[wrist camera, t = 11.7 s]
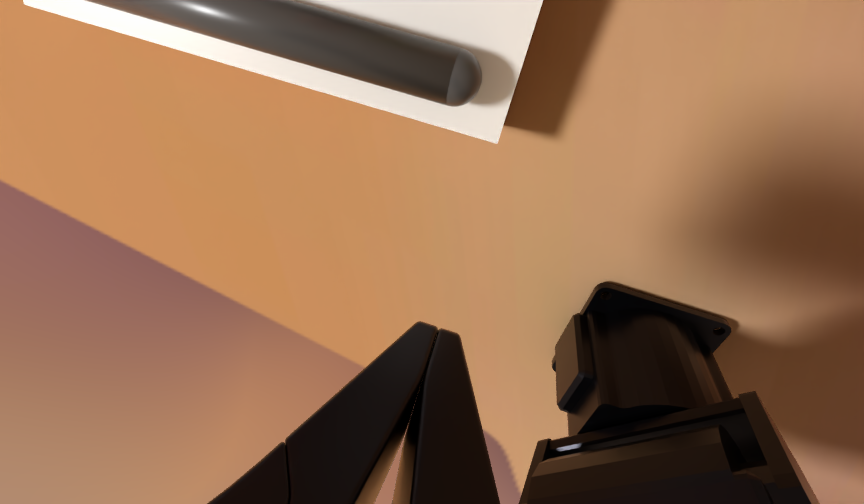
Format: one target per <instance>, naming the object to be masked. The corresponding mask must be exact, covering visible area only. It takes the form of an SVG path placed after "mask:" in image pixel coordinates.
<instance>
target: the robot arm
mask: <svg viewBox="0 0 864 504" xmlns="http://www.w3.org/2000/svg"><path fill="white" fill-rule="evenodd" d="M602 292H609V294H607V295H602V294H601V293H602ZM719 327H720V329H717V330H714V329H715V328H719ZM730 333H731V328H730V326H729V324H728V322H727V321H726V320H724V319H722V318H719V317H716V316H713V315H709V314H706V313H703V312H700V311H697V310H693V309H690V308H687V307H684V306H681V305H677V304H674V303H671V302H668V301H665V300H662V299H658V298H655V297H652V296H649V295H646V294H642V293H639V292H636V291H633V290H630V289H626V288H623V287H620V286H617V285H614V284H610V283H600V284H598V285H597V286H596V287H595V288H594V290H593V292H592V293H591V295H590V297H589V298H588V300H587V302H586V304H585V305H584V307H583V309H582V310H581V312H580V313H577V314H575V315H573V316H572V318H571V320H570V322H569V323H568V325H567V327H566V328H565V330H564V332H563V334H562V335H561V337H560V339H559V341H558V342H557V344H556V346H555V356H554V358H553V360H552V368H553V370H554V371H555V372H556V390H557V405H558V407H559V409H560V410H562V411H564V412H567V416H568V435H569V436H568V437H564V438H559V439H555V440H551V439H545V440H540V441H538V443H537V446H536V449H535V452H534V456H533V459H532V462H531V465H530V469H529V472H528V475H527V479H526V482H525V485H524V488H523V492H522V495H521V498H520V502H519V504H820V503H819V501H818V500H817V498H816V496H815V494H814V492H813V490H812V489H811V487H810V485H809V483H808V481H807V479H806V478H805V476H804V474H803V472H802V470H801V468H800V467H799V465H798V463H797V461H796V460H795V458H794V456H793V455H792V453H791V451H790V449H789V448H788V446H787V444H786V443H785V441H784V439H783V438H782V436H781V434H780V432H779V431H778V429H777V427H776V426H775V424H774V422H773V421H772V419H771V417H770V416H769V414H768V412H767V410H766V409H765V407H764V405H763V404H762V402H761V400H760V399H759V397H758V395H757V393H756V392H755V391H753V392H748V393H744V394H740V395H739V398H735V399H733V397H732V395H731V393H730V391H729V389H728V386H727V384H726V382H725V380H724V378H723V376H722V373H721V371H720V369H719V367H718V365H717V362H716V360H715V358H714V356H713V354H712V353H713V352H714V351H715V350H716V349H717V348H718V347H719V346H720V344H721V343H722V342H723V341H724V340H725V339H726V338H727V337H728V336H729V335H730ZM436 335H437V336H436ZM435 338H436V339H435ZM434 341H435V342H434ZM433 344H434V345H433ZM429 357H430V358H429ZM428 360H429V361H428ZM423 376H424V377H423ZM422 379H423V380H422ZM417 395H418V396H417ZM416 398H417V399H416ZM415 401H416V402H415ZM414 404H415V405H414ZM411 414H412V415H411ZM410 417H411V418H410ZM409 420H410V421H409ZM408 423H409V424H408ZM407 426H408V428H407ZM406 429H407V431H406ZM405 432H406V435H405ZM404 435H405V438H404ZM403 438H404V443H403V448H402V453H401V458H400V463H399V468H398V474H397V479H396V484H395V490H394V495H393V500H392V504H500V501H499V497H498V493H497V488H496V484H495V480H494V476H493V472H492V467H491V464H490V459H489V455H488V451H487V446H486V443H485V438H484V434H483V430H482V426H481V421H480V417H479V413H478V409H477V405H476V401H475V396H474V392H473V388H472V384H471V380H470V375H469V371H468V367H467V363H466V359H465V355H464V350H463V346H462V342H461V338H460V336H459V334H457V333H455V332H452V331H449V330H446V329H442V328H441V329H439V330H438V328H437V327H436V326H433V325H430V324H427V323H424V322H421V321H419V322H417V323H415V324H414V325H413V326H412V327H411V328H410V329H408V330H407V331H406V332H405V333H404V334H403V335H402V336H401V337H399V338H398V339H397V340H396V341H395V342H394V343H393V344H392V345H390V346H389V347H388V348H387V349H386V350H385V351H384V352H383V353H381V354H380V355H379V356H378V357H377V358H376V359H375V360H374V361H372V362H371V363H370V364H369V365H368V366H367V367H366V368H365V369H363V370H362V371H361V372H360V373H359V374H358V375H357V376H356V377H355V378H353V379H352V380H351V381H350V382H349V383H348V384H347V385H345V386H344V387H343V388H342V389H341V390H340V391H339V392H338V393H337V394H335V395H334V396H333V397H332V398H331V399H330V400H329V401H328V402H326V403H325V404H324V405H323V406H322V407H321V408H319V409H318V410H317V411H316V412H315V413H314V414H313V415H312V416H310V417H309V418H308V419H307V420H306V421H305V422H304V423H303V424H301V425H300V426H299V427H298V428H297V429H296V430H295V431H294V432H292V433H291V434H290V435H289V436H288V437H287V438H286V440H285V443H284V442H281V443H280V444H279V445H278V446H276V447H275V448H274V449H273V450H272V451H271V452H270V453H269V454H267V455H266V456H265V457H264V458H263V459H262V460H261V461H259V462H258V463H257V464H256V465H255V466H253V467H252V468H251V469H250V470H249V471H247V472H246V473H245V474H244V475H243V476H242V477H240V478H239V479H238V480H237V481H236V482H234V483H233V484H232V485H231V486H230V487H228V488H227V489H226V490H224V491H223V492H222V493H220V494H219V495H218V496H216V497H215V498H214V499H213V500H212V501H210V502H209V503H207V504H374V503H375V501H376V498H377V496H378V494H379V491H380V490H381V487H382V485H383V483H384V481H385V478H386V476H387V474H388V472H389V470H390V467H391V465H392V463H393V461H394V458H395V456H396V454H397V452H398V450H399V447H400V445H401V442H402V440H403Z"/></svg>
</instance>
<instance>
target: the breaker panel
mask: <svg viewBox="0 0 864 504" xmlns="http://www.w3.org/2000/svg"><path fill="white" fill-rule="evenodd" d="M23 1H24V4H25V5H28V6H31V7H35V8H38V9H42V10H45V11H48V12H52V13H55V14H58V15H62V16H65V17H69V18H72V19H75V20H79V21H82V22H86V23H89V24H92V25H96V26H99V27H103V28H106V29H109V30H113V31H116V32H120V33H123V34H126V35H130V36H133V37H136V38H140V39H143V40H147V41H150V42H153V43H157V44H160V45H164V46H167V47H170V48H174V49H177V50H181V51H184V52H187V53H191V54H194V55H198V56H201V57H204V58H208V59H211V60H215V61H218V62H221V63H225V64H228V65H231V66H235V67H238V68H242V69H245V70H248V71H252V72H255V73H259V74H262V75H265V76H269V77H272V78H276V79H279V80H282V81H286V82H289V83H293V84H296V85H299V86H303V87H306V88H309V89H313V90H316V91H320V92H323V93H326V94H330V95H333V96H337V97H340V98H343V99H347V100H350V101H354V102H357V103H360V104H364V105H367V106H371V107H374V108H377V109H381V110H384V111H387V112H391V113H394V114H398V115H401V116H404V117H408V118H411V119H415V120H418V121H421V122H425V123H428V124H432V125H435V126H438V127H442V128H445V129H449V130H452V131H455V132H459V133H462V134H465V135H469V136H472V137H476V138H479V139H482V140H486V141H489V142H493V143H496V144H497V143H498V140H499V137H500V134H501V131H502V128H503V125H504V121H505V118H506V115H507V112H508V109H509V106H510V103H511V100H512V96H513V93H514V90H515V87H516V84H517V81H518V78H519V75H520V71H521V68H522V65H523V62H524V59H525V56H526V53H527V50H528V46H529V43H530V40H531V37H532V34H533V31H534V28H535V24H536V21H537V18H538V15H539V12H540V9H541V6H542V3H543V0H23Z"/></svg>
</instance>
